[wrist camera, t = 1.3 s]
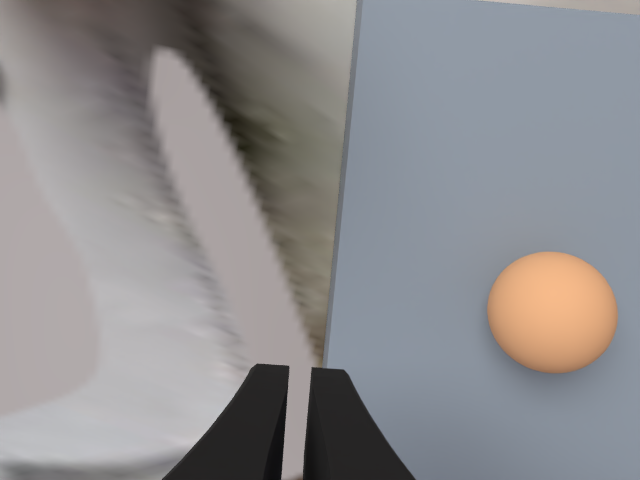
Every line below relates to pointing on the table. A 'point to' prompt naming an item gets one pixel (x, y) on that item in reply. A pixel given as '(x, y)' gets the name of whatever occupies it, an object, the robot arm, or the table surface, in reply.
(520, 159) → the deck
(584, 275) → the ball
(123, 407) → the table surface
